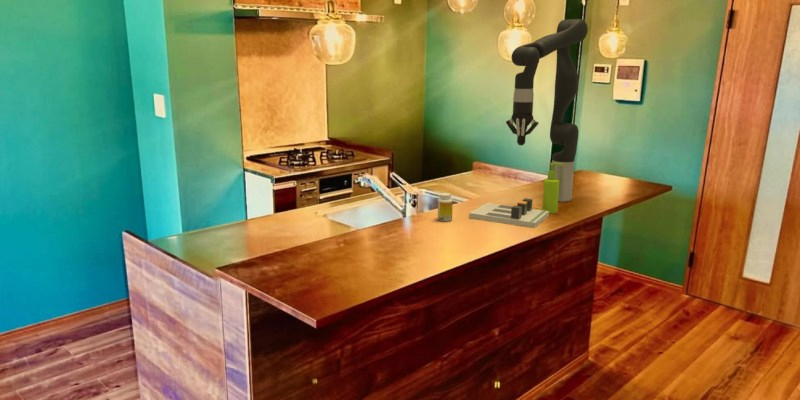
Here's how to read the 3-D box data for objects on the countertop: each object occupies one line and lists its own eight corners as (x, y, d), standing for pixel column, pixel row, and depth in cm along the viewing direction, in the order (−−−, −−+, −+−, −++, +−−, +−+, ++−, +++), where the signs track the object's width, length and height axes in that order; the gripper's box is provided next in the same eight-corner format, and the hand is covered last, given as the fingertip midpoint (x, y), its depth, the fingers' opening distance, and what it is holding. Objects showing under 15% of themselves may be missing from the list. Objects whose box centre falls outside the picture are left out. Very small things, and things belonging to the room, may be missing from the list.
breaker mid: (519, 211, 218) (519, 200, 217) (526, 212, 216) (527, 201, 215) (516, 213, 215) (517, 202, 214) (524, 214, 214) (525, 203, 213)
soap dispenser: (560, 214, 223) (563, 164, 218) (542, 213, 224) (545, 164, 219) (559, 210, 229) (562, 161, 224) (541, 209, 230) (545, 161, 225)
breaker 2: (524, 207, 223) (525, 198, 222) (531, 208, 222) (532, 199, 221) (522, 209, 221) (522, 199, 220) (529, 210, 219) (530, 200, 218)
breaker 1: (513, 215, 213) (514, 205, 212) (521, 216, 211) (521, 206, 210) (510, 217, 210) (511, 207, 209) (518, 218, 209) (519, 208, 208)
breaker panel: (486, 207, 233) (486, 202, 232) (548, 216, 220) (548, 210, 220) (469, 217, 218) (469, 212, 217) (534, 227, 205) (534, 222, 205)
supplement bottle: (454, 221, 214) (455, 195, 211) (441, 222, 212) (441, 196, 209) (448, 217, 219) (449, 191, 216) (435, 218, 217) (435, 193, 215)
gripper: (543, 100, 216) (540, 145, 221) (510, 99, 223) (508, 142, 227) (537, 101, 210) (534, 147, 214) (503, 100, 216) (501, 145, 221)
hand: (520, 145), depth 221 cm, fingers closed
